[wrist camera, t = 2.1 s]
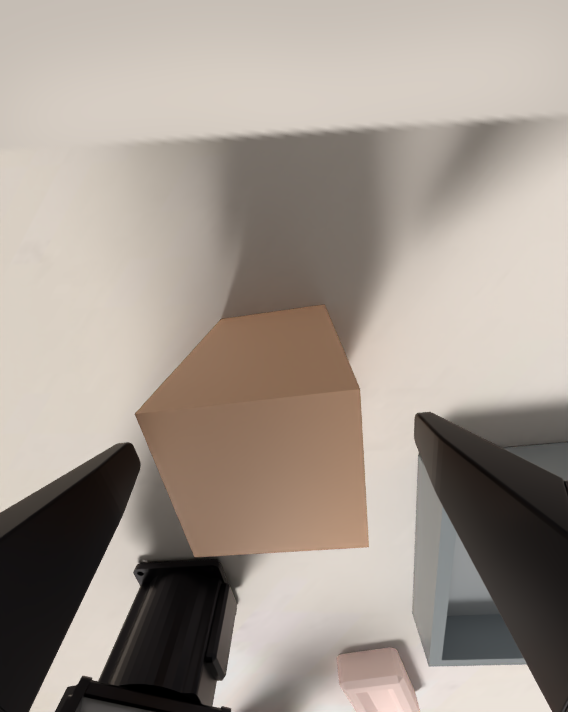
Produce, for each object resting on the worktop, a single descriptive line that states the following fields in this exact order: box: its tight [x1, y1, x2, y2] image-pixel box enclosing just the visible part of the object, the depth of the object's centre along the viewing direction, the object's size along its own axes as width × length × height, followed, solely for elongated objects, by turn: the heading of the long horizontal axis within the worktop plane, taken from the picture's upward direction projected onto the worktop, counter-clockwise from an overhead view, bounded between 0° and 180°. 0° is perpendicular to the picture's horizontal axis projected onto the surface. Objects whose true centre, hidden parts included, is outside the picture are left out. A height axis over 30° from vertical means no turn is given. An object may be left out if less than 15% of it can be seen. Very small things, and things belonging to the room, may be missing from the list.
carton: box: [135, 304, 369, 557], centre depth 11 cm, size 5×5×8 cm
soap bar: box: [337, 647, 420, 712], centre depth 26 cm, size 5×9×2 cm, turn 21°
